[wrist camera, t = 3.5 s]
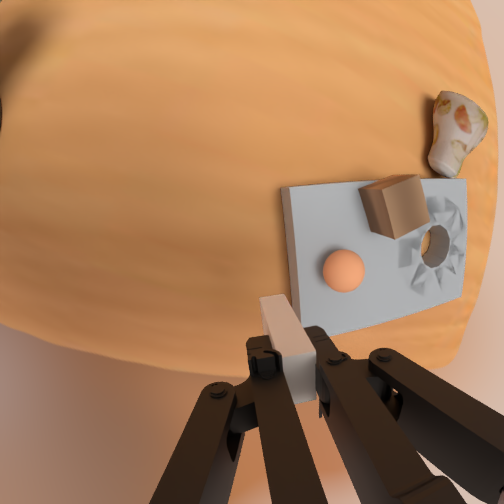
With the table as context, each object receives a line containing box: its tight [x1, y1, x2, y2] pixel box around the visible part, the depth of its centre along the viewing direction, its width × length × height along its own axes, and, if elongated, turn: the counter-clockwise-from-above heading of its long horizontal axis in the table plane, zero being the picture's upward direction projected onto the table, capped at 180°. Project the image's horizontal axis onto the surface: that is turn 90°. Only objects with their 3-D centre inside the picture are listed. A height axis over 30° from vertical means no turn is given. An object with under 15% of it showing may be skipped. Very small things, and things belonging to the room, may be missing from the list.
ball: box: [323, 249, 365, 293], centre depth 22 cm, size 4×4×4 cm
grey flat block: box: [281, 178, 467, 336], centre depth 26 cm, size 21×14×4 cm, turn 97°
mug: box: [428, 91, 488, 178], centre depth 23 cm, size 8×10×10 cm
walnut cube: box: [358, 175, 430, 240], centre depth 21 cm, size 4×4×4 cm
